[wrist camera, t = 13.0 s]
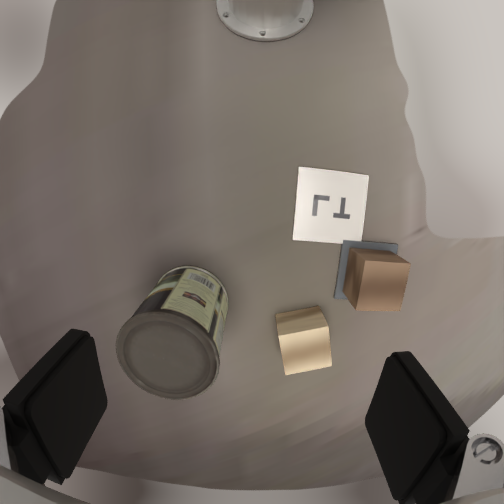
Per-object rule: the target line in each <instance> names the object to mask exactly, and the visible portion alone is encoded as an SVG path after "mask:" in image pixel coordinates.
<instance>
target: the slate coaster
mask: <svg viewBox="0 0 504 504" xmlns="http://www.w3.org/2000/svg"><path fill="white" fill-rule="evenodd" d="M349 247H350V248H362V249H374V250H386V251H391V252H393V253H395V254H396V255H397V249H398V244H392V243H381V242H370V241H351V240H343V244H342V246H341V253H340V260H339V267H338V274H337V280H336V286H335V292H334V299H347V297H346V296H345V294H344V293H343V292H342V291H343V285H344V279H345V273H346V267H347V261H348V254H349Z"/></svg>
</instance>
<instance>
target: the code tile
mask: <svg viewBox="0 0 504 504" xmlns="http://www.w3.org/2000/svg"><path fill="white" fill-rule="evenodd" d="M368 179H369V175H363V174H356V173H349V172H341V171H333V170H325V169H317V168H307V167H299V168H298V180H297V192H296V204H295V215H294V226H293V236H292V240H301V241H315V242H328V243H340V244H343V240H351V241H361V240H362V232H363V225H364V217H365V208H366V199H367V189H368Z"/></svg>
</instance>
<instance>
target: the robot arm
mask: <svg viewBox="0 0 504 504" xmlns="http://www.w3.org/2000/svg"><path fill="white" fill-rule="evenodd" d="M216 7H217V12H218V15H219V17H220V19H221V21H222V22H223V23H224V25H225V26H226V27H227V28H229V29H230V30H231V31H233V32H234V33H236V34H237V35H240V36H242V37H244V38H248V39H252V40H256V41H277V40H283V39H286V38H289V37H292V36H293V35H295V34H297V33H299V32H300V31H301V30H302V29H304V28H305V27H306V25H307V24H308V23H309V21H310V19H311V17H312V14H313V10H314V3H313V0H216ZM300 22H302V23H300ZM261 35H264V36H261ZM3 401H4V404H5V405H4V406H3V408H1V407H0V504H89V503H87V502H84V501H81V500H78V499H76V498H73V497H70V496H68V495H65V494H63V493H60V492H58V491H55V490H53V489H51V488H48V487H46V486H45V484H44V483H45V481H46V479H48V480H51V481H53V482H55V483H58V484H60V485H62V483H63V481H64V479H65V478H69V477H70V476H71V474H72V472H73V470H74V468H75V466H76V464H77V463H78V461H79V459H80V457H81V455H82V453H83V451H84V449H85V447H86V445H87V443H88V441H89V440H90V438H91V436H92V434H93V432H94V430H95V428H96V426H97V425H98V423H99V421H100V419H101V417H102V415H103V414H104V412H105V410H106V408H107V396H106V392H105V388H104V384H103V380H102V375H101V371H100V366H99V362H98V357H97V352H96V346H95V341H94V339H93V337H90V334H89V333H88V332H87V331H82V330H77V329H71V330H69V331H68V332H67V333H66V334H65V335H64V336H63V337H62V338H61V339H60V340H59V341H58V342H57V343H56V344H55V345H54V346H53V347H52V348H51V349H50V350H49V351H48V352H47V353H46V354H45V355H44V356H43V357H42V358H41V359H40V360H39V361H38V362H37V363H36V364H35V365H34V367H33V368H32V369H31V370H30V371H29V372H28V373H27V374H26V375H25V376H24V377H23V378H22V379H21V380H20V381H19V382H18V383H17V384H16V386H15V387H14V388H13V389H12V390H11V391H10V392H9V393H8V394H7V395H6V397H5V398H4V399H3ZM365 425H366V428H367V431H368V433H369V436H370V438H371V441H372V444H373V446H374V449H375V451H376V454H377V456H378V459H379V462H380V464H381V467H382V470H383V472H384V475H385V477H386V480H387V483H388V486H389V488H390V491H391V494H392V496H393V498H394V499H395V500H398V501H399V504H415V503H416V504H504V444H503V443H502V442H501V440H499V439H498V438H497V437H495V436H493V435H489V434H484V433H483V434H477V435H475V436H473V437H472V438H471V439H469V438H468V436H467V435H468V433H469V429H468V428H467V426H466V425H465V423H464V422H463V421H462V419H461V418H460V416H459V415H458V414H457V412H456V411H455V410H454V408H453V407H452V405H451V404H450V403H449V401H448V400H447V399H446V397H445V396H444V395H443V393H442V392H441V391H440V389H439V388H438V387H437V385H436V384H435V383H434V381H433V380H432V379H431V377H430V376H429V375H428V373H427V372H426V371H425V370H424V368H423V367H422V366H421V364H420V363H419V362H418V361H417V359H416V358H415V357H414V355H413V354H412V353H411V352H409V351H405V352H394V353H392V354H391V356H390V357H387V359H386V361H385V364H384V367H383V370H382V373H381V376H380V379H379V382H378V385H377V388H376V390H375V393H374V396H373V399H372V401H371V404H370V407H369V409H368V412H367V414H366V417H365Z"/></svg>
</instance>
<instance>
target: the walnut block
mask: <svg viewBox="0 0 504 504" xmlns="http://www.w3.org/2000/svg"><path fill="white" fill-rule="evenodd" d="M409 269H410V263H409V262H407V261H406V260H404V259H403V258H401V257H399V256H398V255H396V254H395V253H393V252H391V251H386V250H374V249H362V248H350V247H349V254H348V261H347V267H346V273H345V279H344V285H343V291H342V292H343V293H344V294H345V296H346V297H347V299H348V300H349V301H350V303H351V304H352V306H353V307H354V308H355V310H362V311H400V309H401V305H402V301H403V297H404V292H405V288H406V284H407V279H408V274H409Z"/></svg>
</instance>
